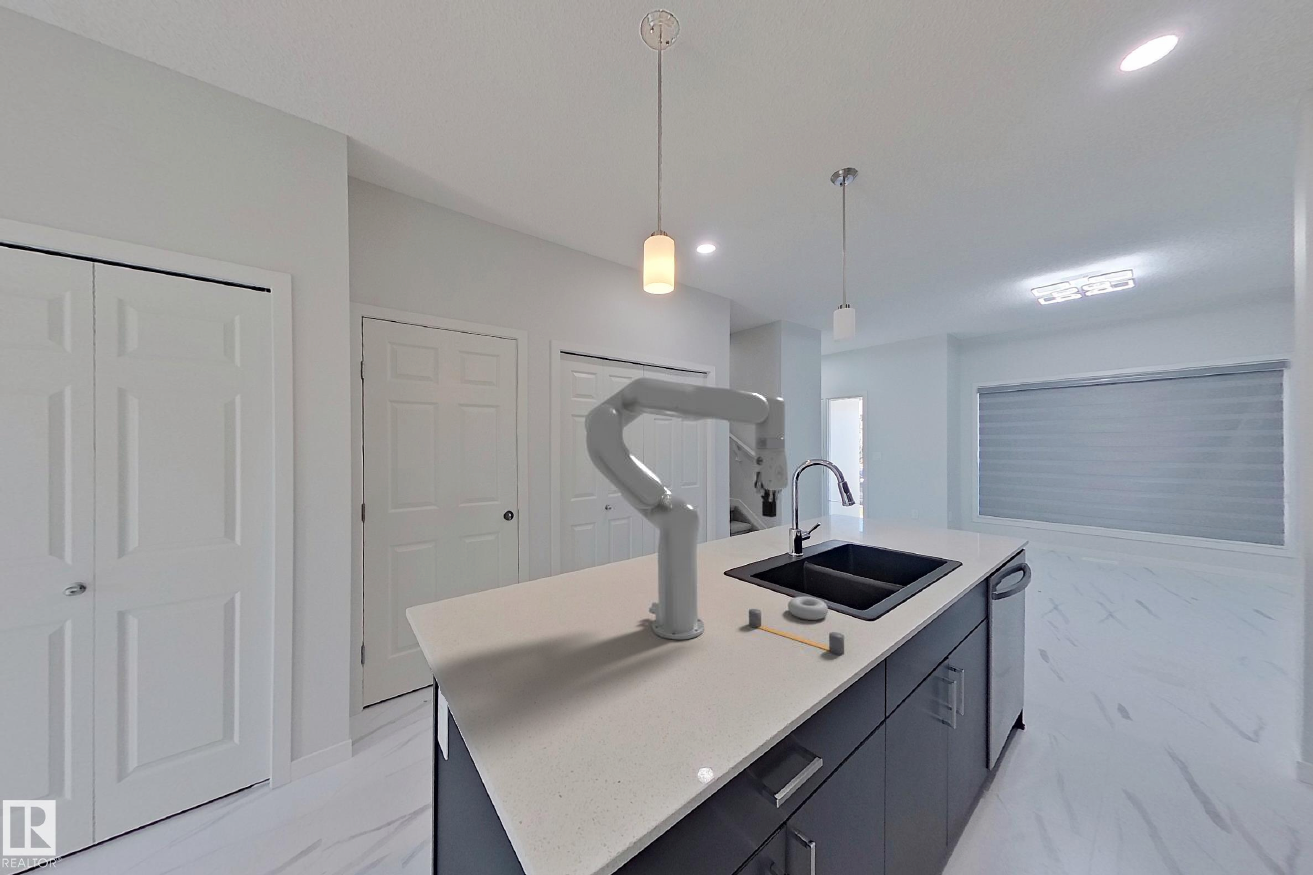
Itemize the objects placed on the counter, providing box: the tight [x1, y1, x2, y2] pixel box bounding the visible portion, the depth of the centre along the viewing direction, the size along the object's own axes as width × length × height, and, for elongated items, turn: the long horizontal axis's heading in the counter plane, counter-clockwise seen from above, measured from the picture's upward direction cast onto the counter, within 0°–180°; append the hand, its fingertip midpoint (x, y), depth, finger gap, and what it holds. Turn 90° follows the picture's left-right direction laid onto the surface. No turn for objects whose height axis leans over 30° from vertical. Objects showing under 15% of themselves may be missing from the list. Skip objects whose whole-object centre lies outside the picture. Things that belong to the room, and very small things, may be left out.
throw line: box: [748, 608, 845, 656], centre depth 103 cm, size 23×3×4 cm, turn 47°
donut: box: [787, 596, 829, 621], centre depth 116 cm, size 10×4×10 cm
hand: (769, 516), depth 115 cm, fingers closed
